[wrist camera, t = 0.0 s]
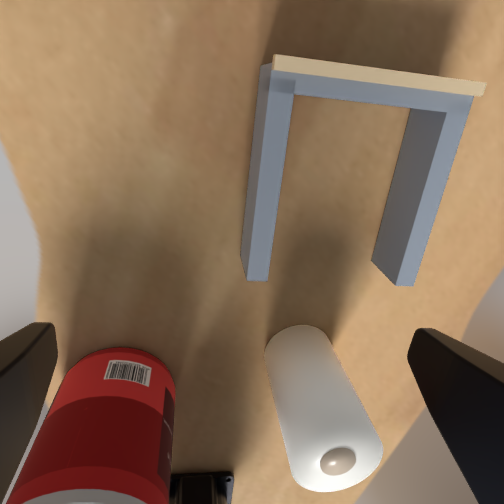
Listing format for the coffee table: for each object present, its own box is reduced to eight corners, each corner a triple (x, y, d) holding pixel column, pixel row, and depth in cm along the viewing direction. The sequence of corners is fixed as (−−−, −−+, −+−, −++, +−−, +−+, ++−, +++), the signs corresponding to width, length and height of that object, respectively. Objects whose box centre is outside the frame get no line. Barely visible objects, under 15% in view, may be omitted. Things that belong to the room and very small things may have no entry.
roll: (323, 379, 30) (371, 491, 22) (260, 379, 29) (285, 497, 21) (336, 325, 28) (395, 426, 20) (268, 324, 27) (299, 430, 19)
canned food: (41, 368, 26) (-54, 543, 16) (147, 327, 26) (116, 479, 16) (98, 436, 29) (48, 617, 19) (192, 400, 29) (190, 565, 19)
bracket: (387, 261, 26) (418, 291, 23) (240, 255, 25) (248, 285, 21) (437, 82, 22) (486, 82, 18) (261, 59, 20) (275, 54, 16)
